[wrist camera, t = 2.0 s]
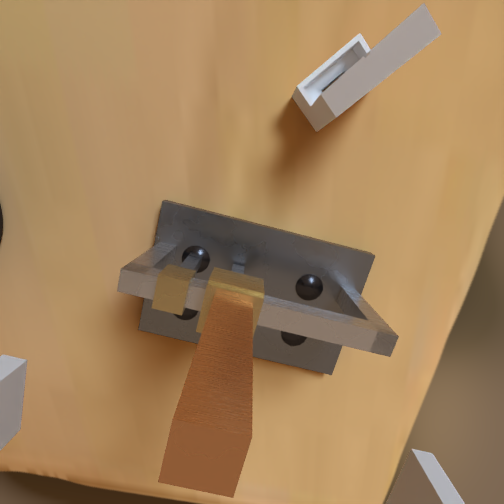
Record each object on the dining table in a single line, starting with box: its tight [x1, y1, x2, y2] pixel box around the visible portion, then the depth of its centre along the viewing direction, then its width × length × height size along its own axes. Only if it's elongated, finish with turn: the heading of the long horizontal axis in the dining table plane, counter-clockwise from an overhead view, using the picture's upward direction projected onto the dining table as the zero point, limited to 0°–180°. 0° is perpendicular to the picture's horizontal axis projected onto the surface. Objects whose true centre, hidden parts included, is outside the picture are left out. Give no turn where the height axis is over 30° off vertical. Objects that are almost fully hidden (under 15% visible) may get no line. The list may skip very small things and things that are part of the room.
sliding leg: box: [158, 264, 265, 498], centre depth 19 cm, size 4×4×20 cm
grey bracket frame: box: [117, 242, 399, 357], centre depth 24 cm, size 19×2×9 cm, turn 75°
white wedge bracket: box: [292, 3, 441, 132], centre depth 22 cm, size 4×10×9 cm
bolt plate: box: [138, 200, 375, 375], centre depth 30 cm, size 20×13×1 cm, turn 76°
